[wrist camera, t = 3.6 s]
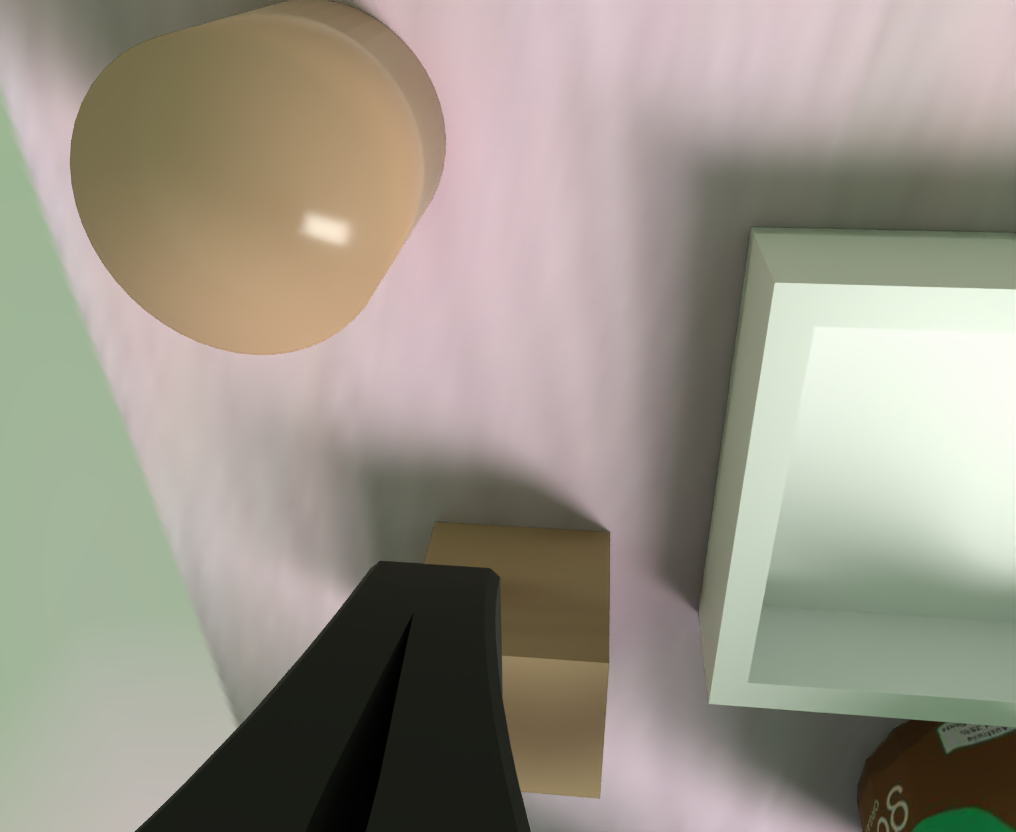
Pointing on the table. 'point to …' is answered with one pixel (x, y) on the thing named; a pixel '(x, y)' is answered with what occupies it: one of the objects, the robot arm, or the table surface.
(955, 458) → the counting tray
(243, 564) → the table surface
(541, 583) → the walnut block
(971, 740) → the food container
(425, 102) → the beige rounded block
